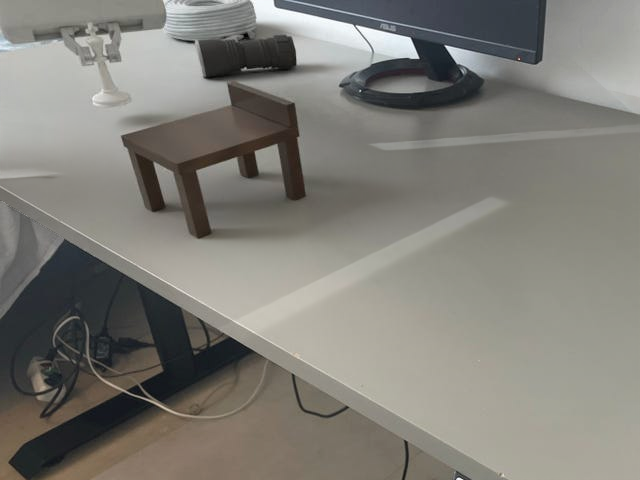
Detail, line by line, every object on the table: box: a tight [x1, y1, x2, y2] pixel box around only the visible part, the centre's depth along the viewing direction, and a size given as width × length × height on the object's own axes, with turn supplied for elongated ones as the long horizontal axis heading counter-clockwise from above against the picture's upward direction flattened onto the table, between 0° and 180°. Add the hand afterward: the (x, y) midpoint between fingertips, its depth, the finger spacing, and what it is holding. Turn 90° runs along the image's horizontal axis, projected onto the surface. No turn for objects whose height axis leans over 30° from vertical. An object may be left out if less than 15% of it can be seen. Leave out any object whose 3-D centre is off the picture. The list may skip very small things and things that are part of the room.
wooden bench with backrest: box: [120, 80, 307, 239], centre depth 76 cm, size 14×11×10 cm
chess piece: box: [85, 23, 133, 108], centre depth 95 cm, size 5×5×10 cm
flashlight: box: [194, 34, 298, 78], centre depth 116 cm, size 15×5×5 cm, turn 113°
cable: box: [161, 0, 257, 43], centre depth 136 cm, size 18×18×6 cm
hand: (102, 61), depth 94 cm, fingers closed on chess piece
